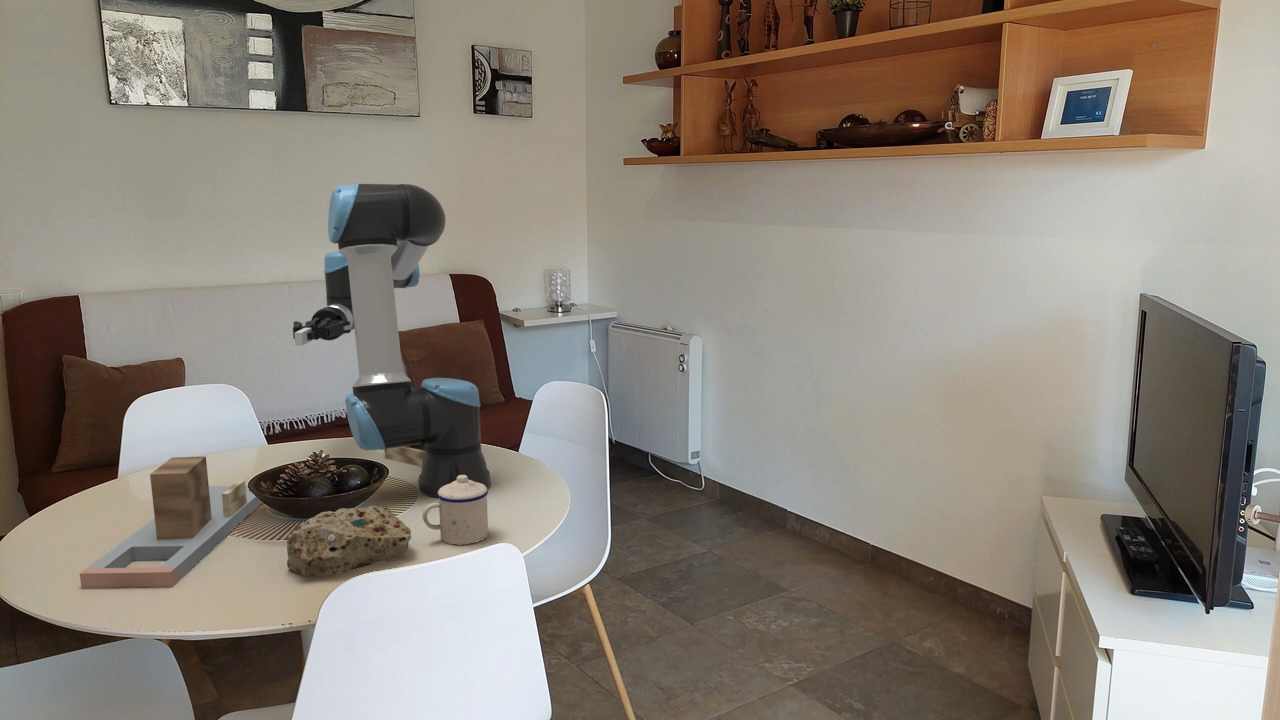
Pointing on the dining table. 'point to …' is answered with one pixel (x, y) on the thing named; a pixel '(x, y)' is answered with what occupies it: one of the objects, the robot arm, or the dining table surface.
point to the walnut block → (181, 497)
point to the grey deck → (165, 550)
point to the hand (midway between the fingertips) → (298, 339)
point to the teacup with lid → (461, 511)
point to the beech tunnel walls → (234, 498)
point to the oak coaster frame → (406, 455)
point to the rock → (346, 541)
